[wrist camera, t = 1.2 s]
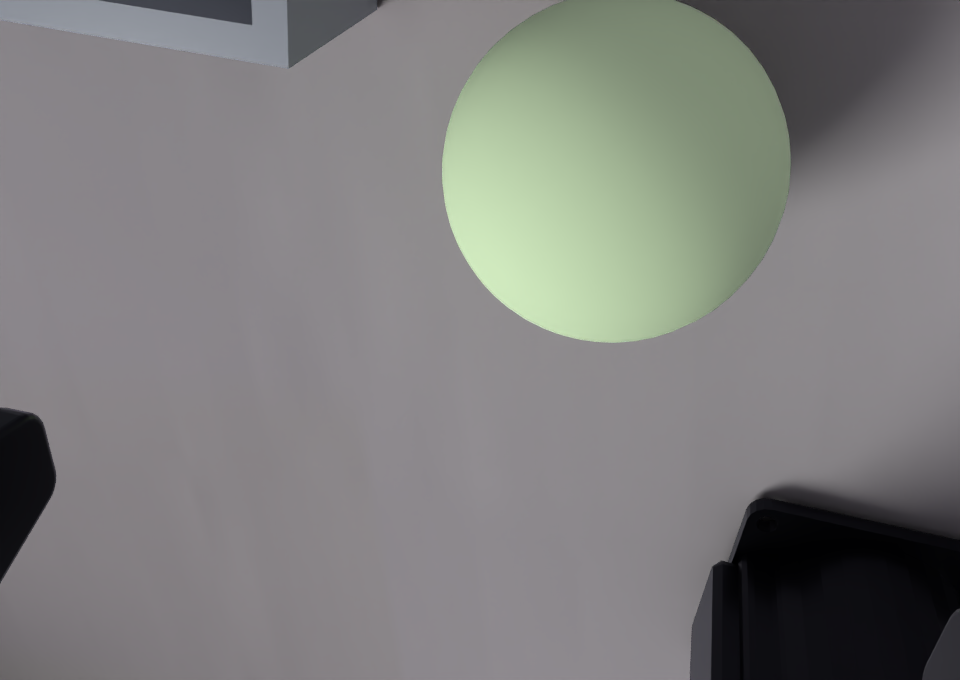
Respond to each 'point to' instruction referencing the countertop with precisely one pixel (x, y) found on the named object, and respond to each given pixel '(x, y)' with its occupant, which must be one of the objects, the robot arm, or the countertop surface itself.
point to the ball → (616, 168)
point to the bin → (202, 24)
